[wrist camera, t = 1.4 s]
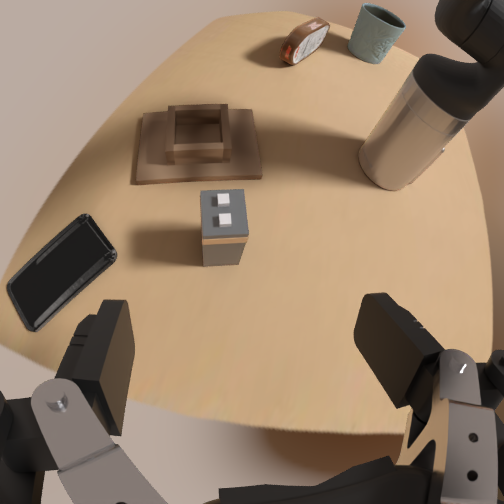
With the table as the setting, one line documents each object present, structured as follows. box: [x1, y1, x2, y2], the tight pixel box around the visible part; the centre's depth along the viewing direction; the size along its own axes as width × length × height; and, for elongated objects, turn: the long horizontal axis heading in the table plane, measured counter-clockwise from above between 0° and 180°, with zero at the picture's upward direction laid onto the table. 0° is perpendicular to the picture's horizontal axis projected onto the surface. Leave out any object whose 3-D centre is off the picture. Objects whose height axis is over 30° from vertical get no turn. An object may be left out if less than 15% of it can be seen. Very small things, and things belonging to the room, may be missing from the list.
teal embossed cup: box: [348, 3, 406, 64], centre depth 51 cm, size 10×10×12 cm
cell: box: [200, 189, 249, 267], centre depth 32 cm, size 4×5×10 cm
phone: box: [7, 214, 117, 332], centre depth 32 cm, size 8×1×15 cm
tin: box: [280, 17, 330, 65], centre depth 48 cm, size 15×3×8 cm, turn 145°
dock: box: [136, 104, 262, 185], centre depth 39 cm, size 16×12×4 cm
